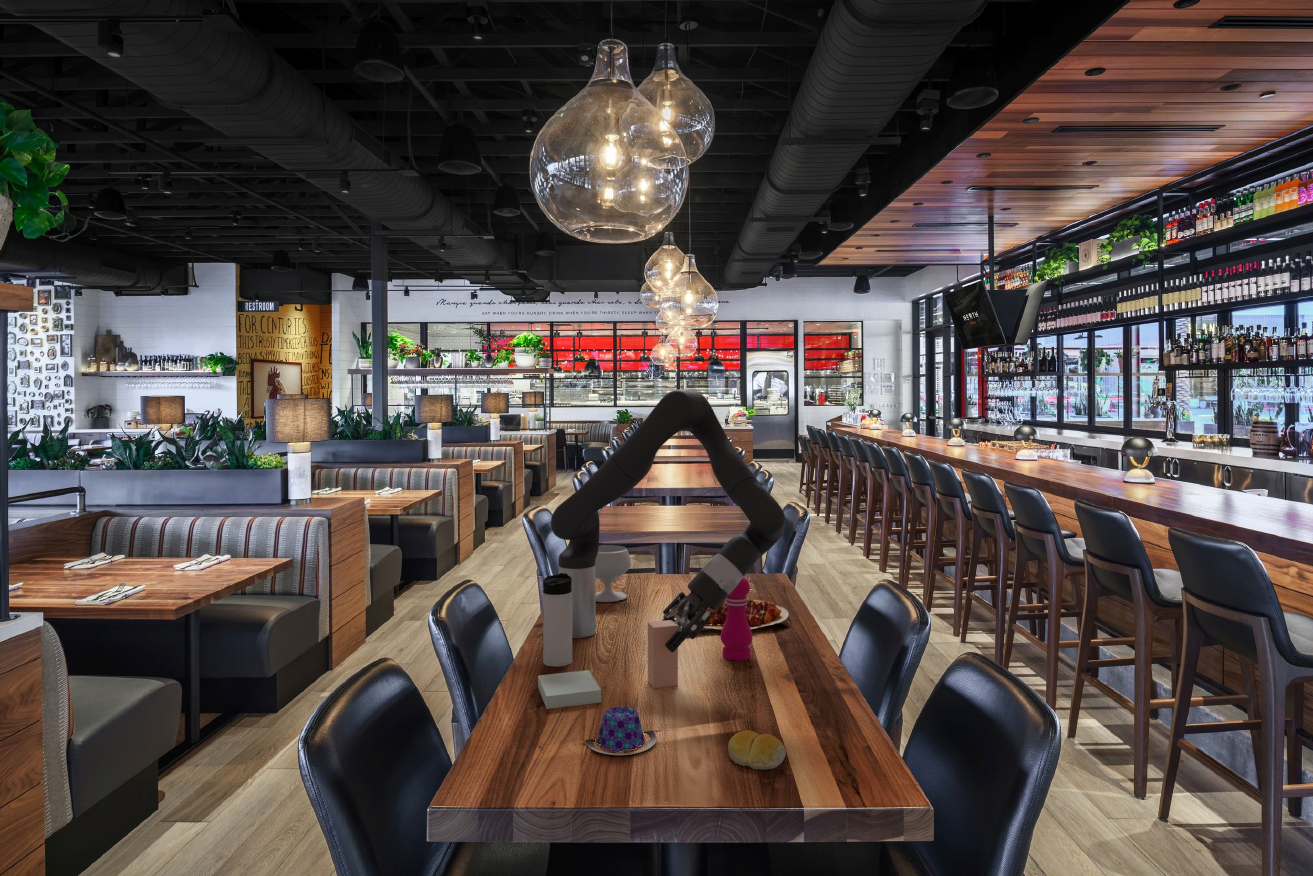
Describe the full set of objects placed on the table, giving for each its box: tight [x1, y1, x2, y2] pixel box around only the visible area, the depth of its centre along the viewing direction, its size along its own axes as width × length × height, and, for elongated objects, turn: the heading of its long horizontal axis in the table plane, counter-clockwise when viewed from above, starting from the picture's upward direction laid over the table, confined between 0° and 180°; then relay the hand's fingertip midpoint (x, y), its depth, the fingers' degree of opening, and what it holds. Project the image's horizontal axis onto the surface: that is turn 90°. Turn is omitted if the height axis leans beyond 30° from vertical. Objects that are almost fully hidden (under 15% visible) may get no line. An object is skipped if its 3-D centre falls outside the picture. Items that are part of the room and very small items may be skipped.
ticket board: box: [537, 669, 602, 710], centre depth 141 cm, size 32×12×4 cm, turn 107°
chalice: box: [595, 544, 632, 603], centre depth 217 cm, size 14×14×15 cm
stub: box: [647, 620, 679, 689], centre depth 144 cm, size 5×4×12 cm
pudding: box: [585, 705, 657, 756], centre depth 122 cm, size 12×12×5 cm
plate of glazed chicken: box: [678, 597, 791, 632], centre depth 194 cm, size 31×35×7 cm
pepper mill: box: [720, 576, 753, 662], centre depth 165 cm, size 7×7×20 cm
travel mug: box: [542, 573, 573, 667], centre depth 158 cm, size 6×7×20 cm
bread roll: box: [727, 729, 787, 771], centre depth 116 cm, size 8×9×4 cm
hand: (661, 642), depth 144 cm, fingers open, 8 cm apart
